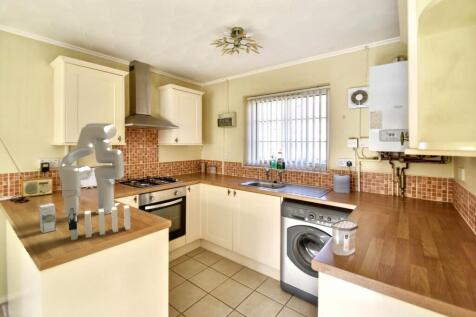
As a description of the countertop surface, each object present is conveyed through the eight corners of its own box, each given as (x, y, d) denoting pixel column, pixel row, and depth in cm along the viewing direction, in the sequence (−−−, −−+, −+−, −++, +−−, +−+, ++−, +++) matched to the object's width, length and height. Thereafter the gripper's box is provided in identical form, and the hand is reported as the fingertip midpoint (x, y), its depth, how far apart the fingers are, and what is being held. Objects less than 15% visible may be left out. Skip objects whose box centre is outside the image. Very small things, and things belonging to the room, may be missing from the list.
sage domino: (78, 234, 118) (76, 212, 117) (77, 239, 113) (75, 215, 112) (72, 235, 117) (70, 213, 116) (71, 240, 112) (69, 216, 111)
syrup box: (53, 227, 128) (51, 202, 126) (56, 230, 124) (54, 204, 123) (40, 231, 123) (38, 204, 122) (42, 234, 119) (40, 206, 118)
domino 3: (117, 227, 128) (116, 206, 127) (118, 231, 123) (117, 209, 122) (112, 228, 126) (111, 207, 125) (113, 232, 121) (111, 210, 120)
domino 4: (129, 225, 131) (128, 205, 130) (130, 229, 126) (129, 207, 125) (124, 226, 130) (123, 205, 129) (125, 230, 125) (124, 208, 124)
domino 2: (104, 230, 125) (103, 208, 124) (105, 233, 120) (104, 211, 118) (99, 231, 123) (98, 209, 122) (99, 235, 118) (98, 212, 117)
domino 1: (91, 232, 121) (90, 210, 120) (91, 236, 116) (90, 213, 115) (86, 233, 120) (84, 211, 119) (85, 237, 115) (84, 214, 114)
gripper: (64, 190, 118) (66, 222, 120) (59, 197, 104) (62, 234, 105) (81, 188, 122) (83, 219, 124) (80, 195, 108) (82, 230, 109)
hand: (73, 226), depth 115 cm, fingers open, 9 cm apart
